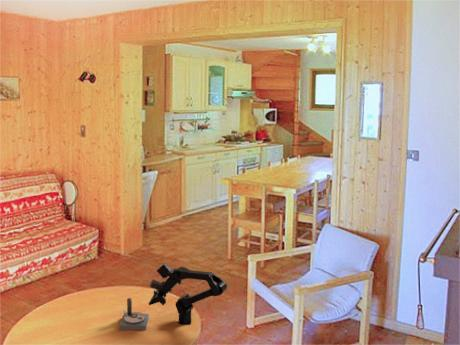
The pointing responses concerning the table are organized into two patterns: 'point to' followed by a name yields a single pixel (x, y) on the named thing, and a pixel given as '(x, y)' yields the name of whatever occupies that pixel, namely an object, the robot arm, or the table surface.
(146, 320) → the post base
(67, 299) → the table surface
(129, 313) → the grey round part
